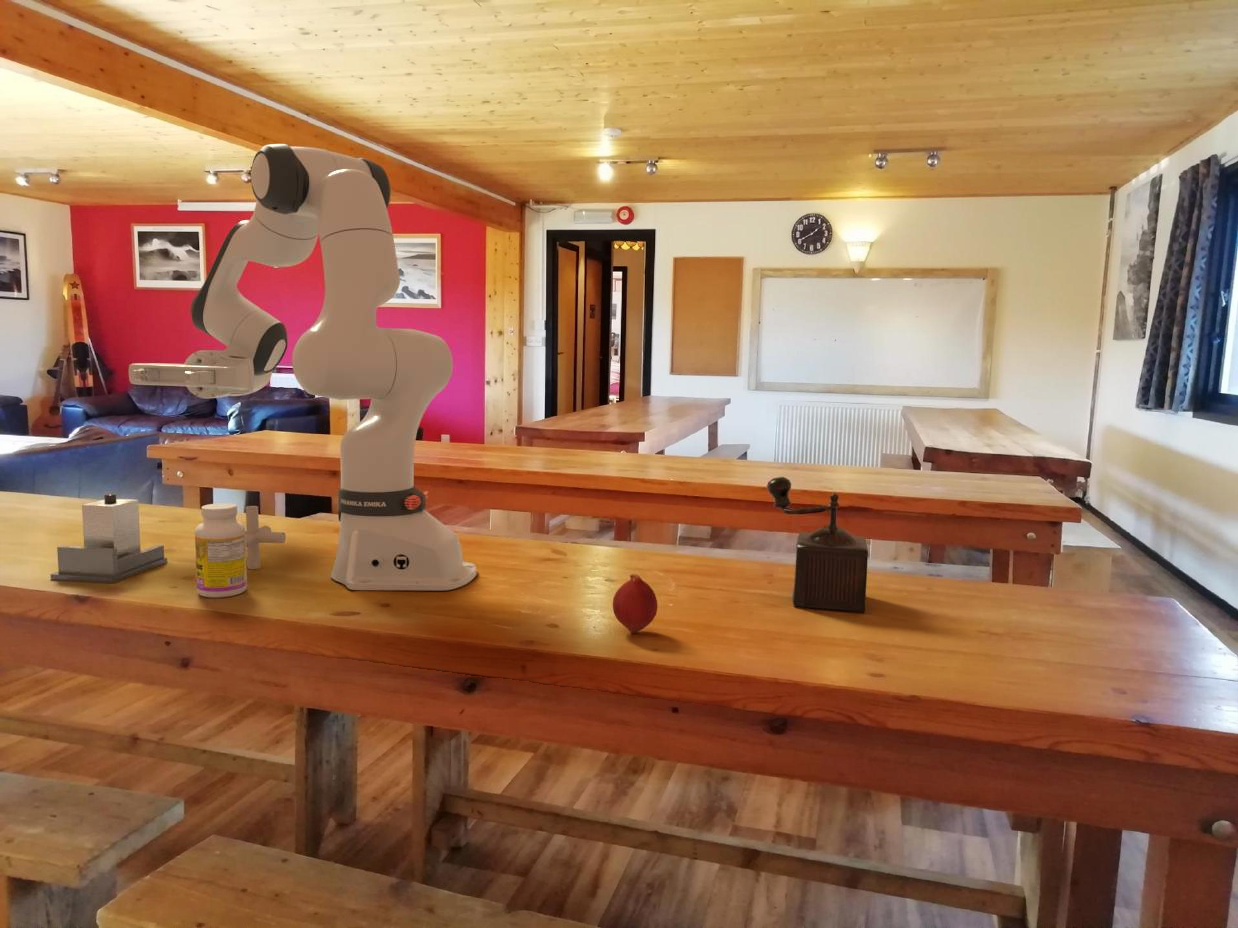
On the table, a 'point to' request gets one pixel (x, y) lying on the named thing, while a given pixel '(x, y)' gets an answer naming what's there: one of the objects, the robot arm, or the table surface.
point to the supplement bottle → (220, 552)
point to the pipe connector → (258, 537)
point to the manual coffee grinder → (825, 560)
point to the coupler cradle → (104, 563)
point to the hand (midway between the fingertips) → (162, 376)
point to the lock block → (112, 525)
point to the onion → (635, 604)
